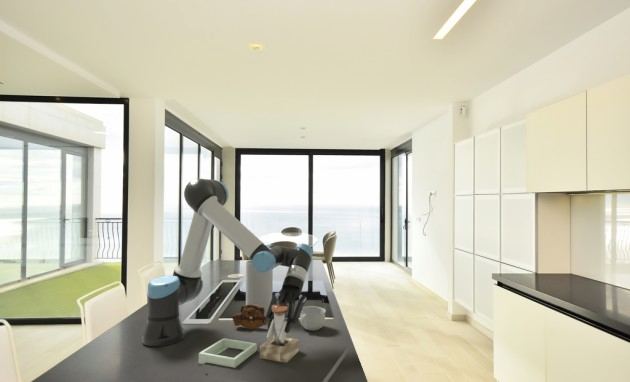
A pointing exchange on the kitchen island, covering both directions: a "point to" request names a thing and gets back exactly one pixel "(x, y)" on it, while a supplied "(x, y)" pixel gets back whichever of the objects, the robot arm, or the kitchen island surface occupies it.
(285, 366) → the kitchen island surface
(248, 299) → the cylinder vase
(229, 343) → the tray
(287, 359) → the block
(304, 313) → the teacup
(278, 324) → the pin
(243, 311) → the wooden carving
